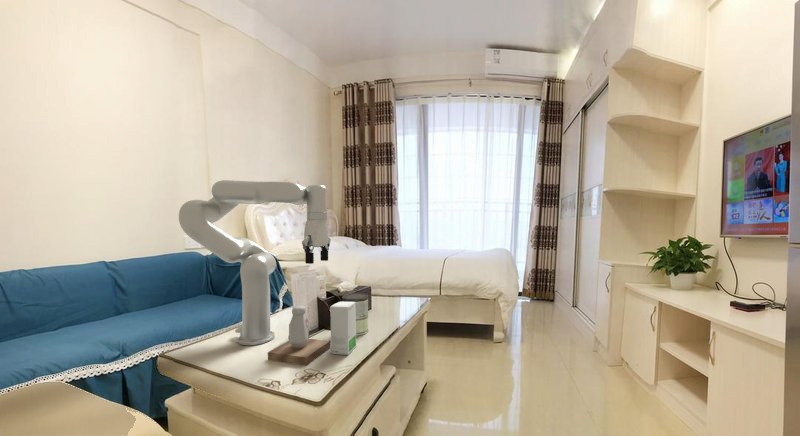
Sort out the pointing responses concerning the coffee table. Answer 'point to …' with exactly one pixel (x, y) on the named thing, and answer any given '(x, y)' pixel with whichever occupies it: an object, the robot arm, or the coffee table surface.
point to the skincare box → (343, 328)
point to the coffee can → (359, 311)
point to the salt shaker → (298, 328)
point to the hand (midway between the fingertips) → (317, 262)
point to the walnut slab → (299, 352)
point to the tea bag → (305, 322)
